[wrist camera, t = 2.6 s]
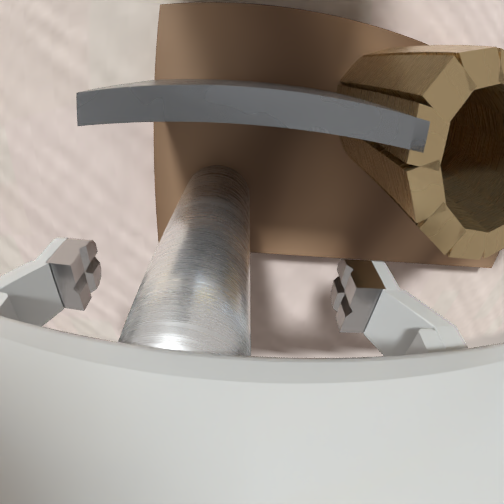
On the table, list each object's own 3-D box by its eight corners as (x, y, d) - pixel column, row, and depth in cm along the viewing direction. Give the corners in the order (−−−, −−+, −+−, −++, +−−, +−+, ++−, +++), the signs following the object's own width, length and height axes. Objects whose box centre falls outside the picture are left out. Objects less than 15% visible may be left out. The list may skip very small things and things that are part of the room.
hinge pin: (186, 222, 15) (112, 478, 5) (185, 163, 13) (56, 425, 3) (247, 226, 15) (245, 495, 5) (252, 167, 14) (261, 458, 3)
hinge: (158, 157, 13) (90, 232, 7) (163, 20, 10) (84, -18, 4) (515, 207, 14) (581, 269, 8) (539, 119, 11) (619, 160, 5)
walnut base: (165, 232, 17) (158, 246, 16) (168, 10, 10) (160, 4, 9) (481, 256, 18) (491, 267, 17) (527, 103, 12) (542, 109, 10)
